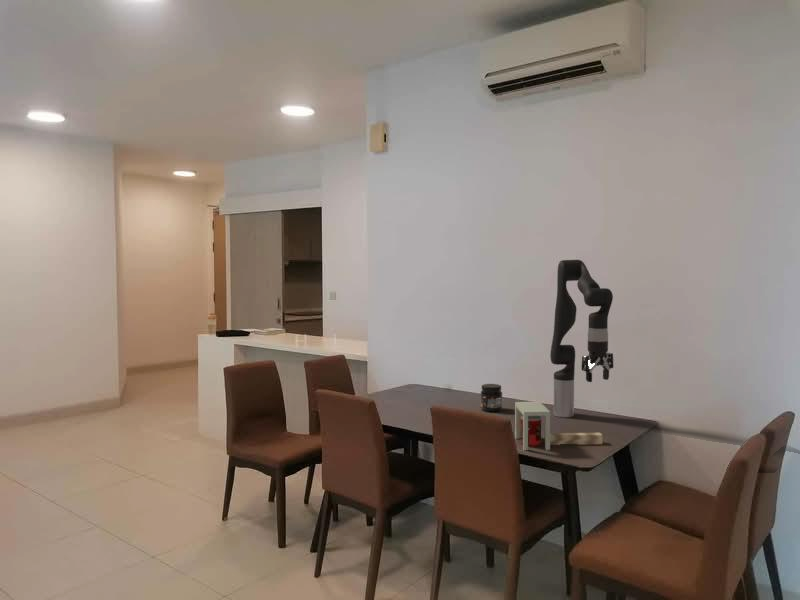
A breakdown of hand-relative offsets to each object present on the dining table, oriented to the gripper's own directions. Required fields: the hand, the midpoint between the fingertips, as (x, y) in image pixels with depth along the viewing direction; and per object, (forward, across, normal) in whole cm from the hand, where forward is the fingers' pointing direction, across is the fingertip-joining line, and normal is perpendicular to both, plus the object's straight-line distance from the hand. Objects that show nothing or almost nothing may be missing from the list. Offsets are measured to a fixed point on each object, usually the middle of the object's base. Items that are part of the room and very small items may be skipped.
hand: (597, 380), depth 226 cm
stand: (+25, +22, -12) cm, 36 cm away
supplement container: (+26, +6, -64) cm, 70 cm away
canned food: (+26, +22, -13) cm, 36 cm away
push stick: (+26, +7, -5) cm, 27 cm away
